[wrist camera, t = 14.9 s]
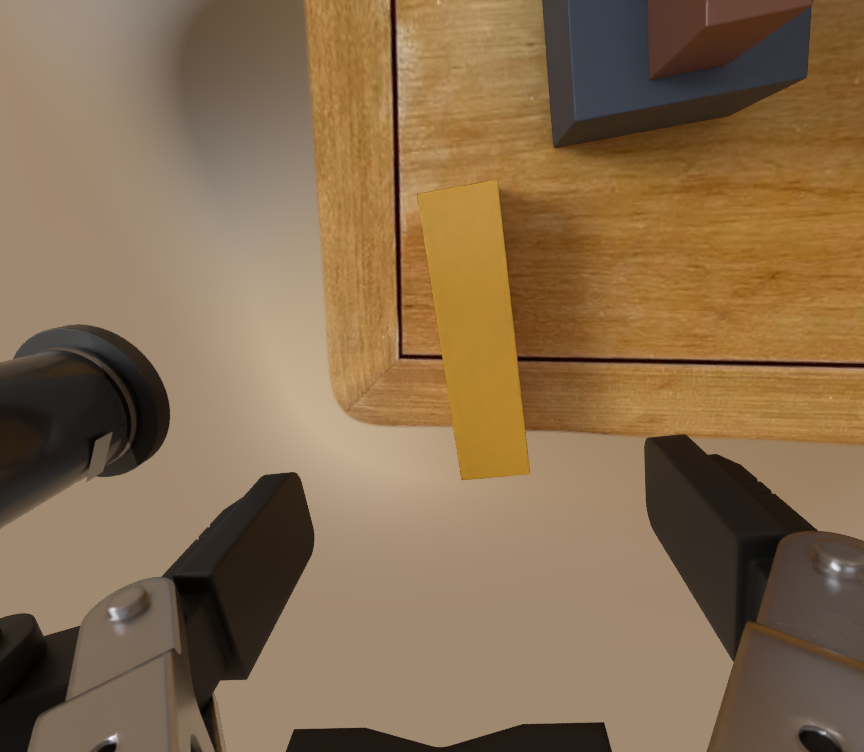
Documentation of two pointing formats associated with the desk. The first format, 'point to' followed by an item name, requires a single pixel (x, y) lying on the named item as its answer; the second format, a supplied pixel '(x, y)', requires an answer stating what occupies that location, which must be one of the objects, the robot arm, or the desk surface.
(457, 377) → the bar
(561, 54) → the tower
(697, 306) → the desk surface
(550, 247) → the desk surface
